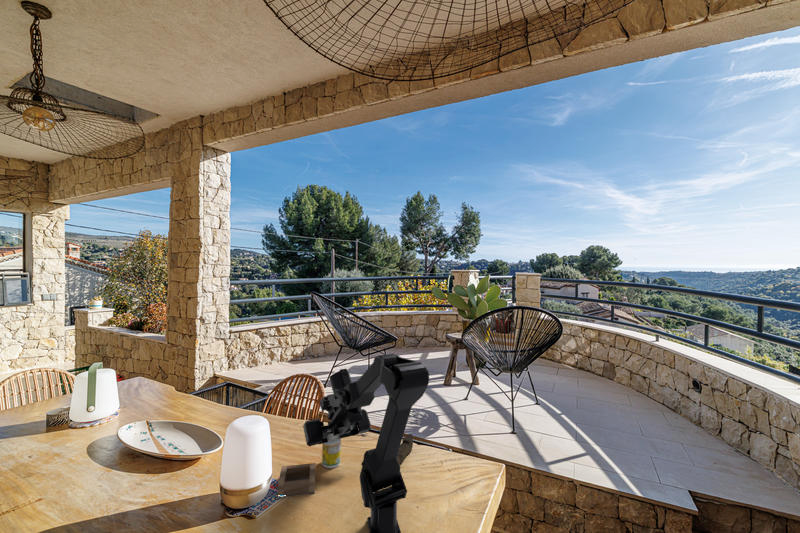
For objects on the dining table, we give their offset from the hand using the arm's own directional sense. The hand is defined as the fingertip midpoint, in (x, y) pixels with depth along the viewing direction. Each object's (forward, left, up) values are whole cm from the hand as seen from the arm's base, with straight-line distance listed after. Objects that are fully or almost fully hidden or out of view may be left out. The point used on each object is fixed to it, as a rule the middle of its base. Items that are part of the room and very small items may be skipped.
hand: (330, 439), depth 103 cm
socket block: (-10, +9, -7) cm, 15 cm away
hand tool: (-2, -21, -7) cm, 22 cm away
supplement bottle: (-1, 0, -7) cm, 7 cm away
